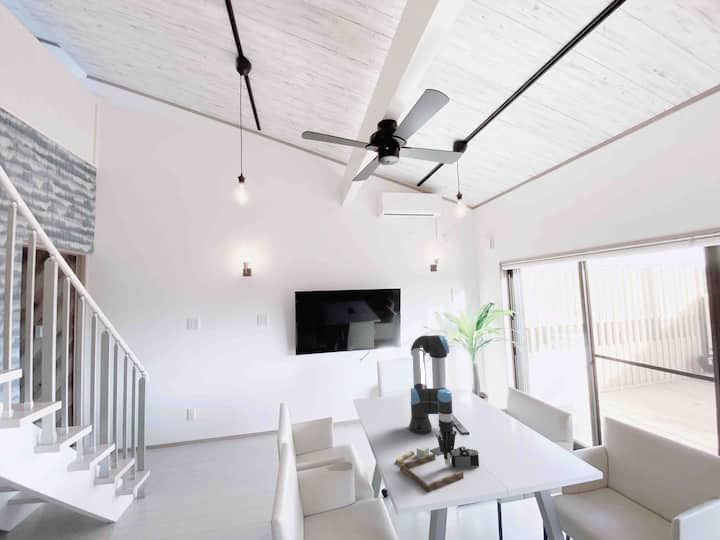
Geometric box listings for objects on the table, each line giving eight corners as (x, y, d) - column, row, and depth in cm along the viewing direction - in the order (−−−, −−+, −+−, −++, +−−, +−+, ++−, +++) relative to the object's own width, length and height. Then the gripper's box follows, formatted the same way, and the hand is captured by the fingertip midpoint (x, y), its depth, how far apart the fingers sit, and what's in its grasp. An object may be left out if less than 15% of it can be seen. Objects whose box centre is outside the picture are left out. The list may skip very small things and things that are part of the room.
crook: (412, 454, 193) (411, 450, 193) (421, 458, 188) (421, 455, 188) (395, 463, 184) (395, 459, 184) (405, 467, 179) (405, 464, 179)
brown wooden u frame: (434, 458, 187) (433, 453, 187) (463, 477, 167) (463, 471, 168) (400, 470, 176) (400, 464, 176) (427, 492, 156) (427, 486, 157)
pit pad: (440, 447, 200) (440, 446, 200) (448, 452, 194) (448, 451, 194) (429, 450, 196) (429, 449, 196) (437, 455, 190) (437, 454, 190)
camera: (476, 459, 184) (475, 441, 185) (481, 468, 175) (480, 449, 176) (448, 460, 185) (447, 442, 185) (452, 469, 176) (451, 449, 176)
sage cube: (421, 454, 193) (421, 445, 193) (429, 456, 190) (428, 447, 190) (417, 457, 189) (416, 448, 189) (424, 460, 186) (424, 451, 186)
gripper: (449, 415, 185) (451, 458, 184) (431, 419, 179) (433, 465, 177) (459, 419, 178) (461, 464, 177) (441, 424, 172) (443, 471, 171)
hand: (447, 464), depth 177 cm, fingers closed
